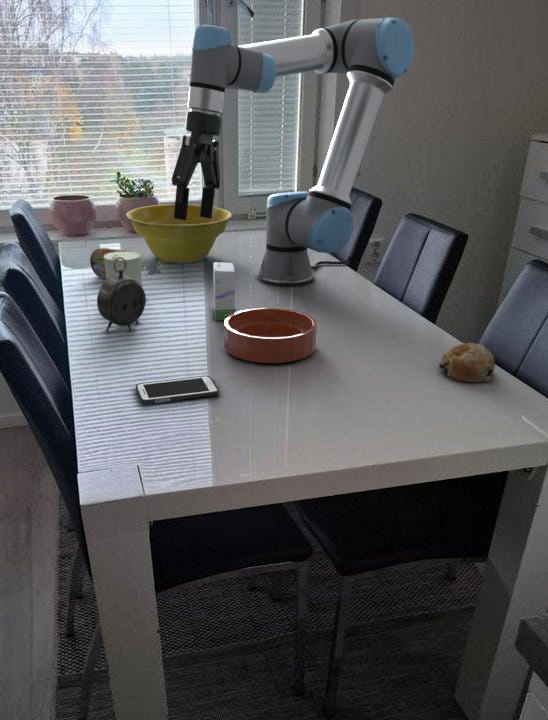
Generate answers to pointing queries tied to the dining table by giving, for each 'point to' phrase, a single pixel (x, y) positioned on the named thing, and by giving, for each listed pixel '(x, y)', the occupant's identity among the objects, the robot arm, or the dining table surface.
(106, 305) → the alarm clock
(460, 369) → the bread roll
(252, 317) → the bowl
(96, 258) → the tin
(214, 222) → the planter bowl
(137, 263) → the can
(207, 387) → the cell phone
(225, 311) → the ink box
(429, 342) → the dining table surface
